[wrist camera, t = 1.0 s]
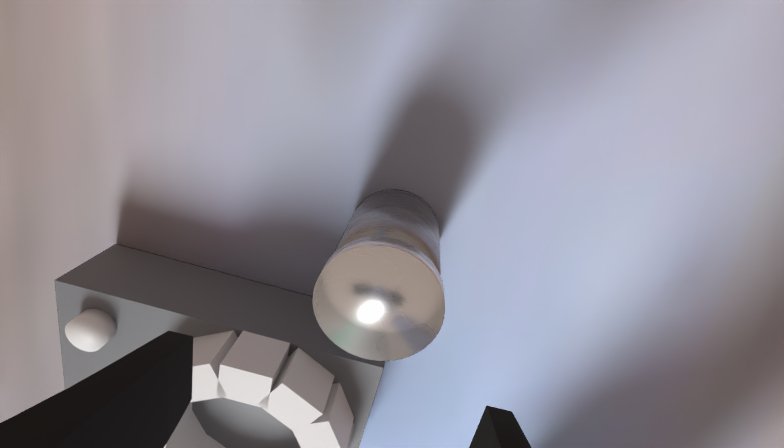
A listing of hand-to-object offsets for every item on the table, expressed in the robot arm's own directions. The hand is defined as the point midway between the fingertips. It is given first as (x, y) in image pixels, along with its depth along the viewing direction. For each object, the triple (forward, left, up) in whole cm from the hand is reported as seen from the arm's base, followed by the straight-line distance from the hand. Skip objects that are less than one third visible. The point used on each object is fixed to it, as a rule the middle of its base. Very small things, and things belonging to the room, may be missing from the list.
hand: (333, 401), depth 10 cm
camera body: (+5, +9, -9) cm, 14 cm away
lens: (-1, -1, -10) cm, 10 cm away
